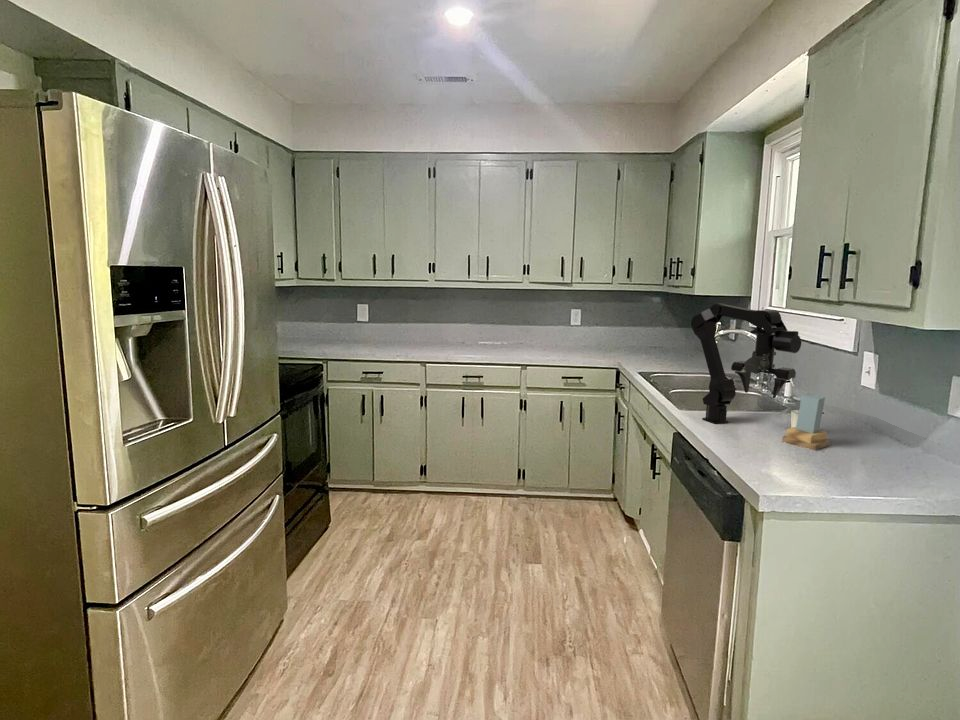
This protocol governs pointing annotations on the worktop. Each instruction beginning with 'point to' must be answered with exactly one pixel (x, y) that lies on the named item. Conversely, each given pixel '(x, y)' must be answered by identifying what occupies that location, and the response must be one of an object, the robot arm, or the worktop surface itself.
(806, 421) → the tall block
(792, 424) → the shot glass
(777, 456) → the worktop surface
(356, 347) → the worktop surface
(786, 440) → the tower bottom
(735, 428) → the worktop surface
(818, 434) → the tower top
